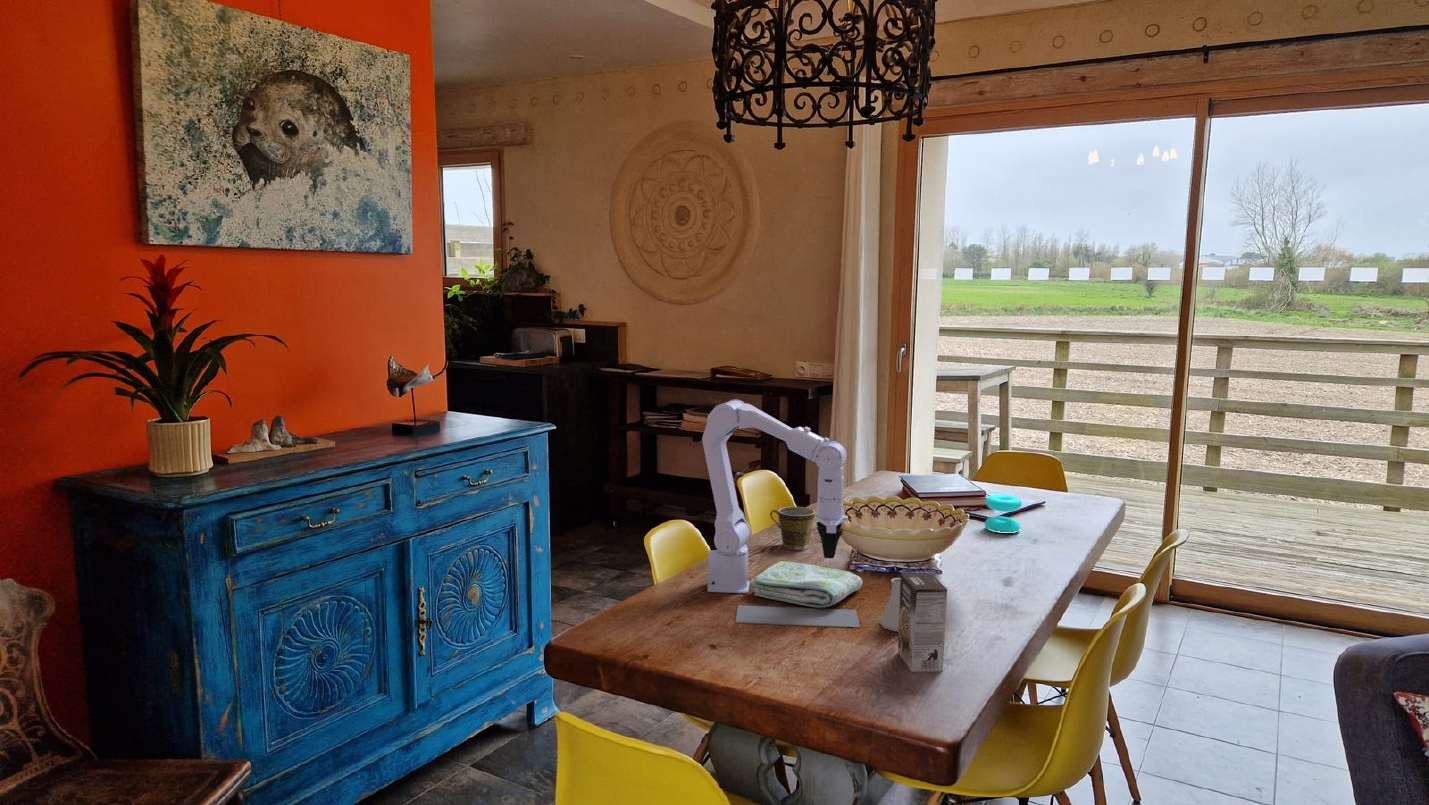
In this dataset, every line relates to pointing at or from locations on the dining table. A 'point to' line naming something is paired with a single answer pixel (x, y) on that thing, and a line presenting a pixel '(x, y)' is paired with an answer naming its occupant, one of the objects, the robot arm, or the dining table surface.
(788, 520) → the ceramic cup
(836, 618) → the slate mat
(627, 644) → the dining table surface
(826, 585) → the towel
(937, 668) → the coffee box
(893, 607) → the flask
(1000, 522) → the donuts
